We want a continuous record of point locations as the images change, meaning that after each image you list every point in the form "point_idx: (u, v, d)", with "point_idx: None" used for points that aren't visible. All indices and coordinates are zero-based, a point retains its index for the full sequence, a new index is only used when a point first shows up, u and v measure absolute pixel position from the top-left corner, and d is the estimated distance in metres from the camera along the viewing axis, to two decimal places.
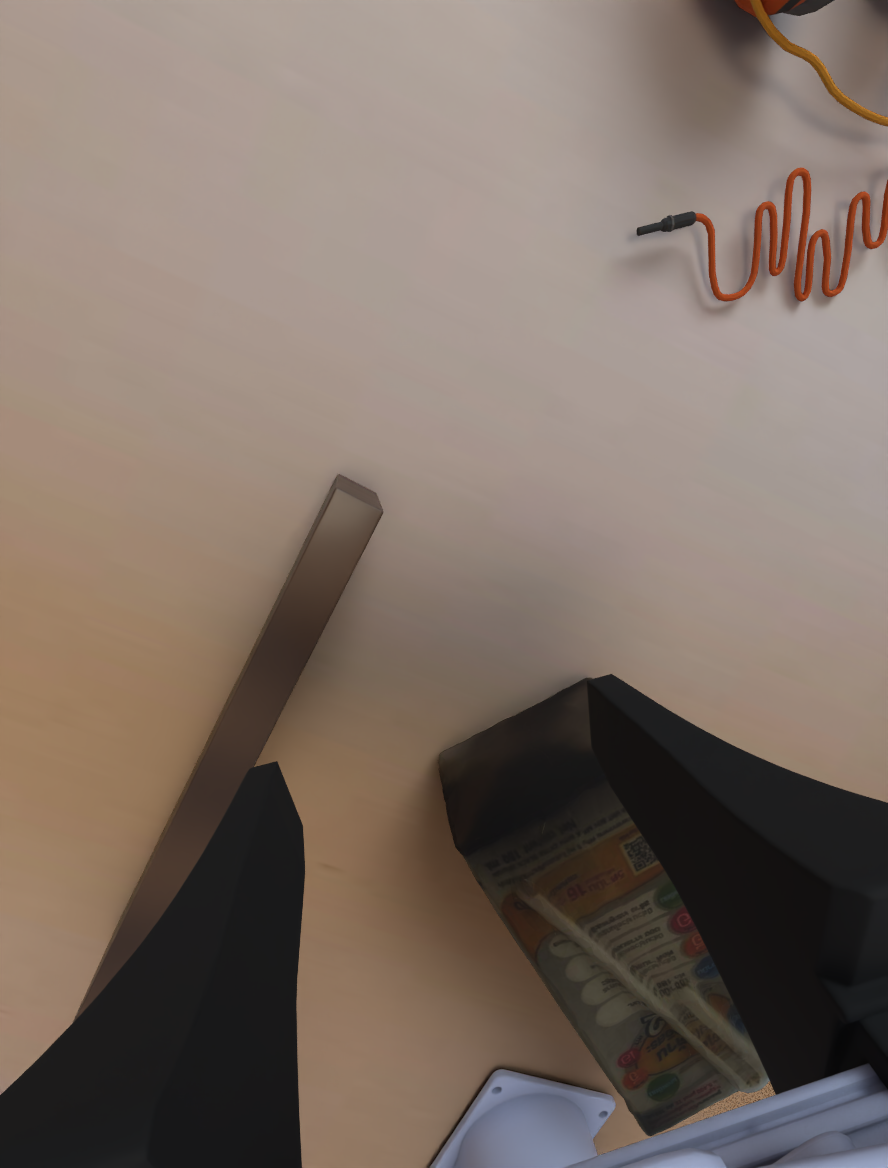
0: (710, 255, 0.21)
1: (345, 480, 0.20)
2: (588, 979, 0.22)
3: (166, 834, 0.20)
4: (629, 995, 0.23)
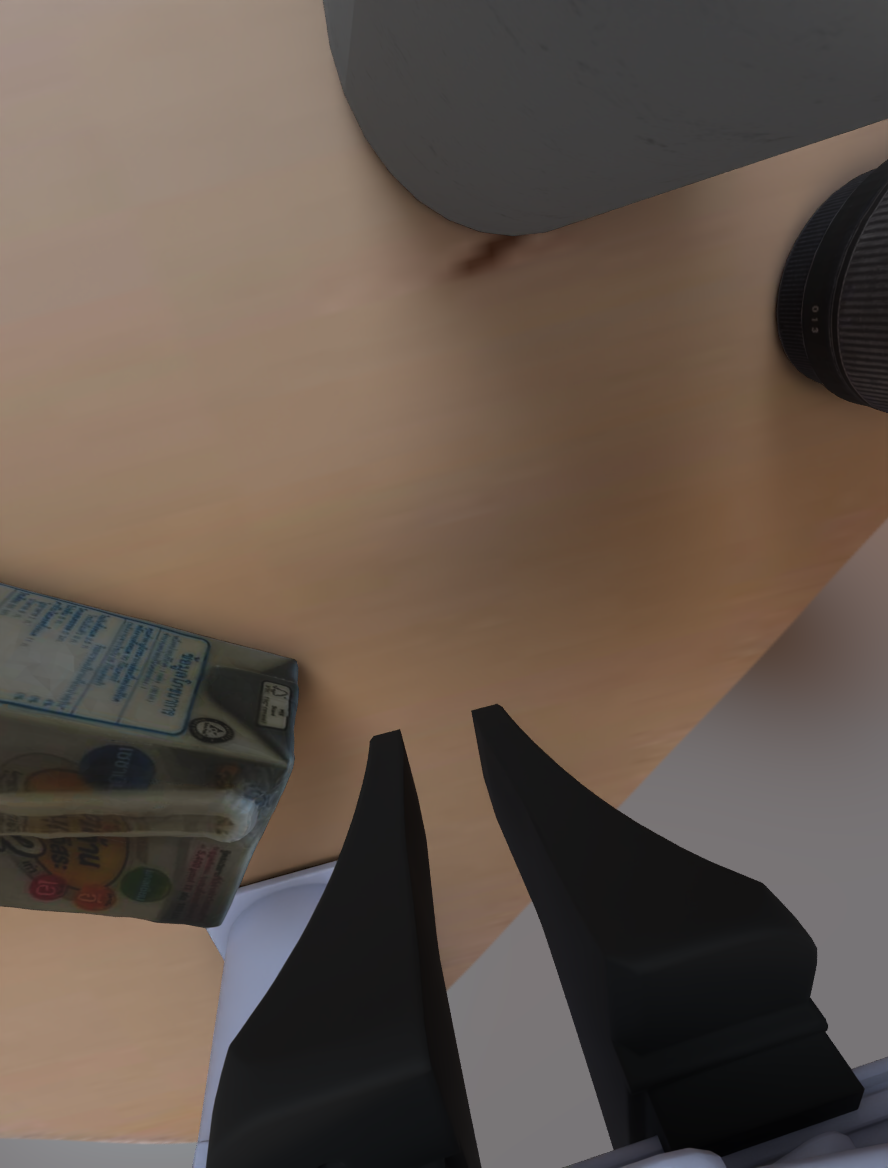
0: None
1: None
2: None
3: None
4: None
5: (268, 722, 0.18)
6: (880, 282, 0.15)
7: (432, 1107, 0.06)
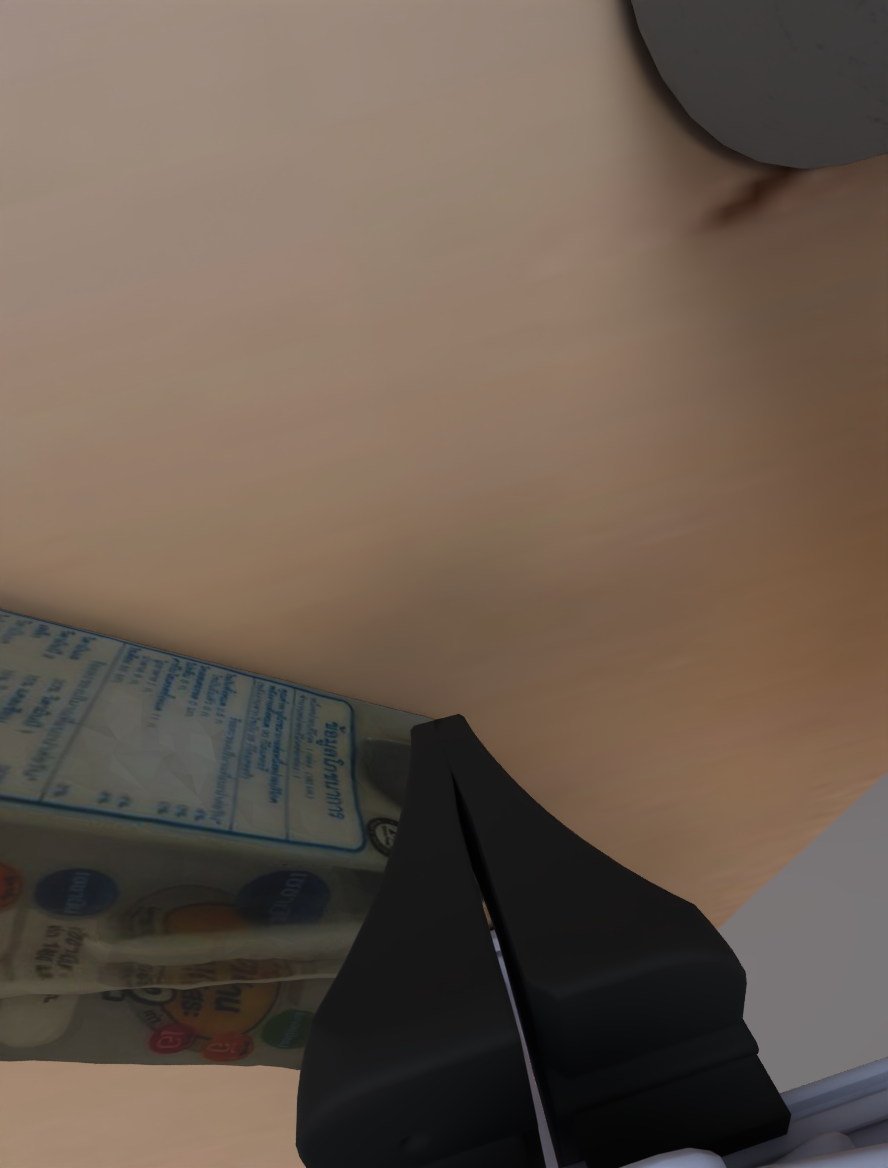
0: None
1: None
2: None
3: None
4: (17, 996, 0.12)
5: None
6: None
7: (516, 1079, 0.06)
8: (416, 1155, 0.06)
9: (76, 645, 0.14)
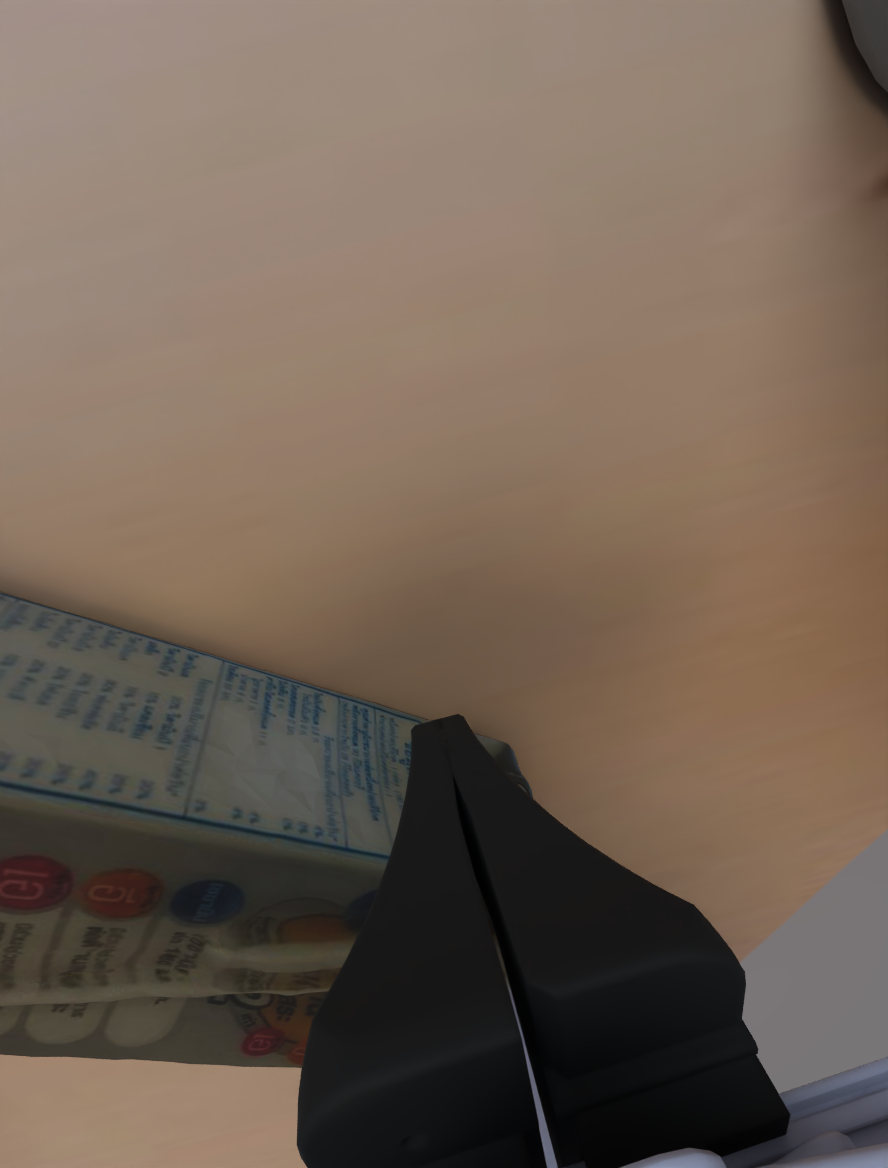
0: None
1: None
2: (18, 1022, 0.12)
3: None
4: (133, 997, 0.12)
5: None
6: None
7: (518, 1079, 0.06)
8: (417, 1155, 0.06)
9: (184, 663, 0.14)
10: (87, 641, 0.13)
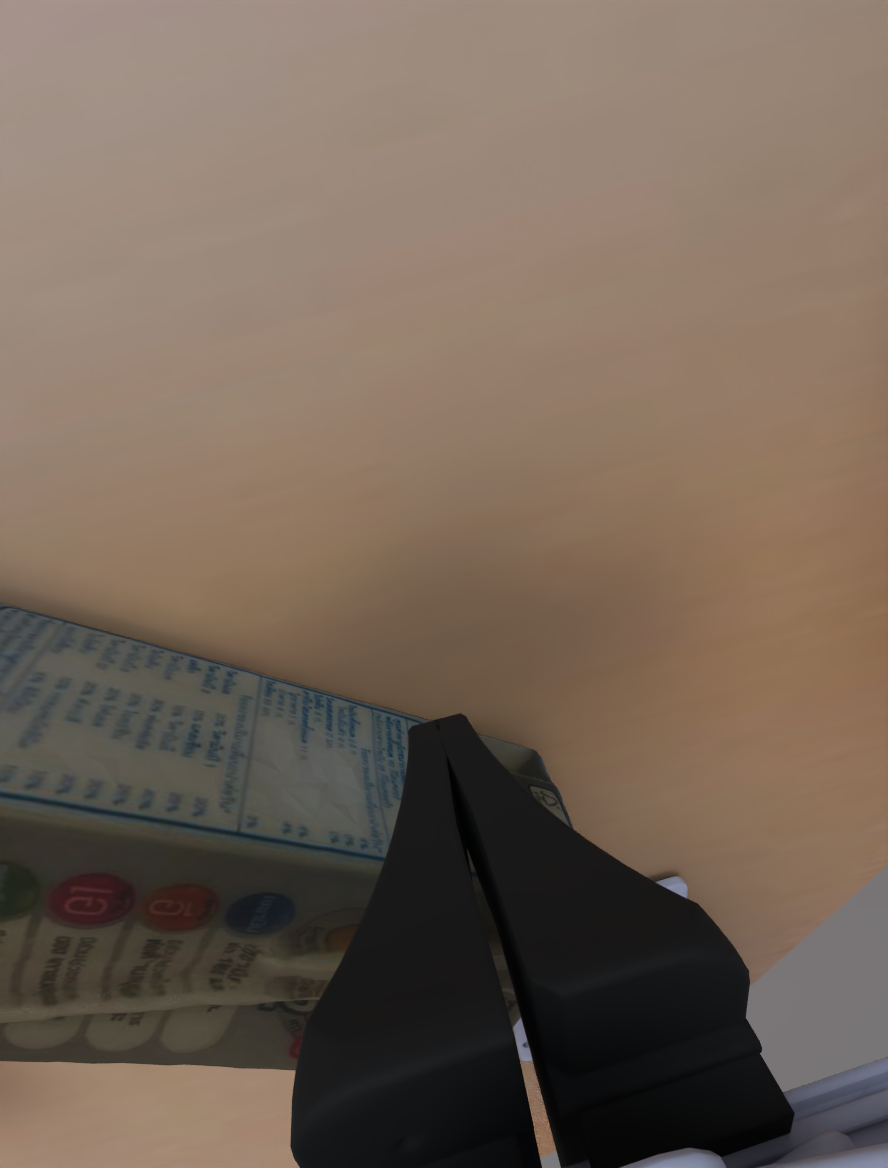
0: None
1: None
2: (79, 1031, 0.12)
3: None
4: (187, 1006, 0.13)
5: None
6: None
7: (512, 1081, 0.06)
8: (411, 1157, 0.06)
9: (224, 680, 0.15)
10: (133, 661, 0.14)
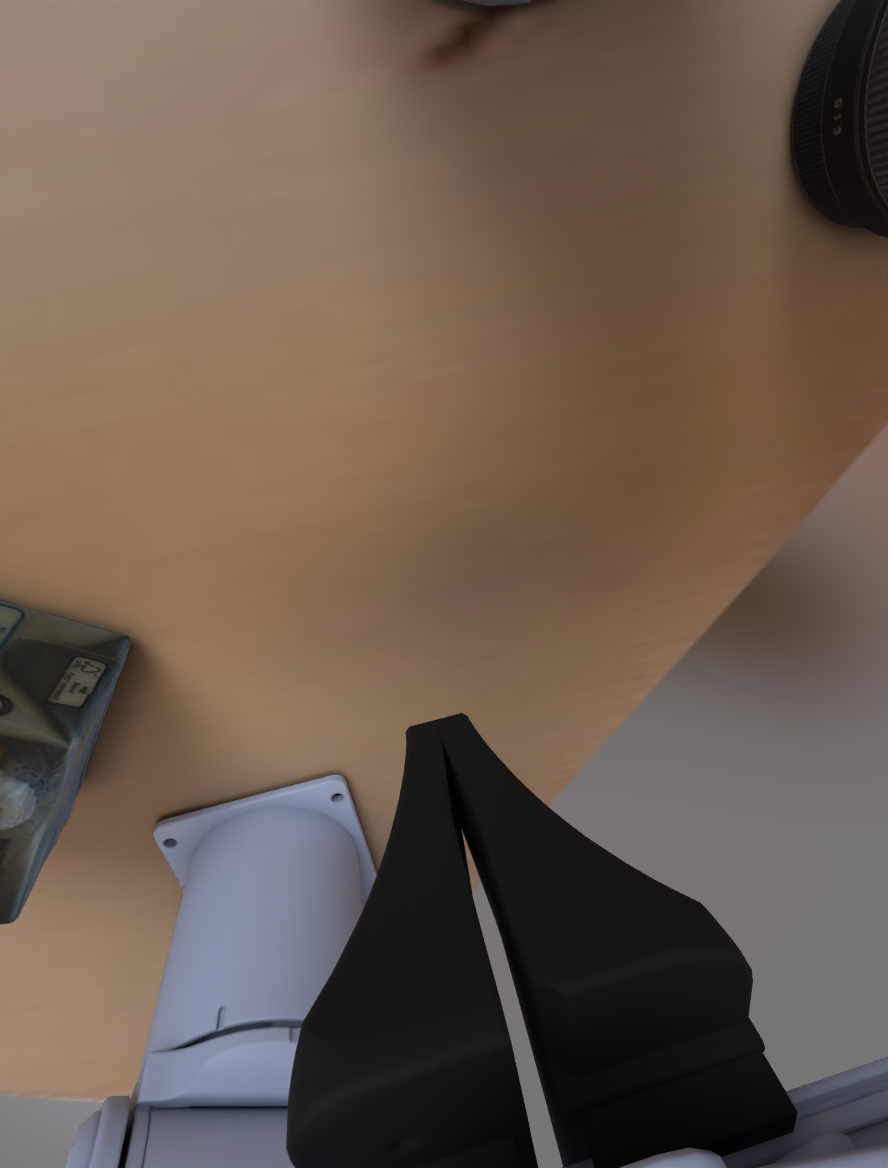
0: None
1: None
2: None
3: None
4: None
5: (62, 699, 0.16)
6: None
7: (508, 1082, 0.06)
8: (407, 1158, 0.06)
9: None
10: None
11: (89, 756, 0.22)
